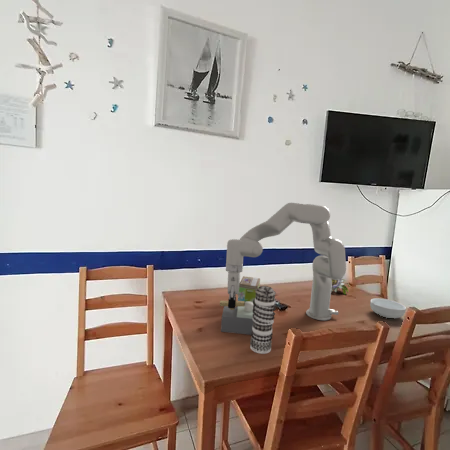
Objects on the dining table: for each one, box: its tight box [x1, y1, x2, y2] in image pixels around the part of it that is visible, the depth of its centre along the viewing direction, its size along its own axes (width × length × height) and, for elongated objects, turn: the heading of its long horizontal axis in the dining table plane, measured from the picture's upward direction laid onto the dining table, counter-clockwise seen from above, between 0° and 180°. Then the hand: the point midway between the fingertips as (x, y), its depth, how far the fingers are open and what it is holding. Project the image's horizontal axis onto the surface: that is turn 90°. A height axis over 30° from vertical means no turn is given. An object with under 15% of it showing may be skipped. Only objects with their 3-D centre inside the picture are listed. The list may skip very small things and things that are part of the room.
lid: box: [237, 301, 255, 319], centre depth 136 cm, size 10×10×5 cm
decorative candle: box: [249, 285, 277, 355], centre depth 119 cm, size 9×9×25 cm
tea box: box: [236, 275, 261, 307], centre depth 161 cm, size 15×10×15 cm
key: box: [219, 300, 244, 310], centre depth 136 cm, size 11×2×3 cm, turn 85°
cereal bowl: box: [369, 297, 407, 319], centre depth 162 cm, size 17×17×7 cm
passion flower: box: [331, 278, 350, 296], centre depth 197 cm, size 13×12×14 cm
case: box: [220, 306, 253, 336], centre depth 136 cm, size 17×12×7 cm
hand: (231, 306), depth 136 cm, fingers closed on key, 2 cm apart
